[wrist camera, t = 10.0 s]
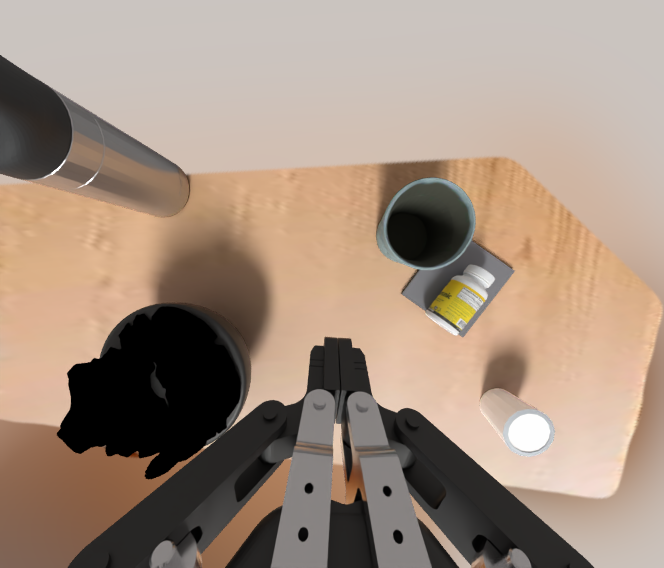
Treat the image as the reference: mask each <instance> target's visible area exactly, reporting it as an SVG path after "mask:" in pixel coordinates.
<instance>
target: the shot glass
mask: <svg viewBox="0 0 664 568" xmlns="http://www.w3.org/2000/svg"><path fill="white" fill-rule="evenodd" d="M479 406H480V410H481V412H482V414H483V415H484V416H485V418H486V419H487V420H488V422H489V423H490V424H491V425H492V427H493V428H494V429H495V431H496V432H497V433H498V435H499V436H500V437H501V439H502V440H503V441H504V442H505V444H506V445H507V446H508V447H509V449H510V450H511V451H513V452H514V453H516V454H518V455H520V456H528V457H531V456H535V455H539V454H541V453H542V452H544V451H545V450H547V449H548V448H549V446H550V445H551V443H552V442H553V440H554V433H555V430H554V426H553V422H552V421H551V420H550V418H549V417H548V416H547V415H546V414H545V413H543V412H541V411H540V410H538V409H536V408H535V407H533V406H531V405H530V404H528V403H526V402H525V401H523V400H521V399H520V398H518V397H516V396H515V395H513V394H511V393H510V392H508V391H506V390H504V389H500V388H494V389H490V390H488V391H487V392H485V393H484V394H483V396H482V397H481V399H480V405H479Z"/></svg>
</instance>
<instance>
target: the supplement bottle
mask: <svg viewBox="0 0 664 568" xmlns="http://www.w3.org/2000/svg"><path fill="white" fill-rule="evenodd" d="M494 280H495V278H494V276H493V275H492V274H490V273H489V272H488V271H486V270H485V269H483V268H481V267H479V266H476V265H468V267H467V268H466V269H465V270H464V272H463V275H462V276H454V277H453V278H452V279H451V280H450V281H449V283H448V284H447V285H446V286H445V288H444V289H443V290H442V292H441V293H440V294H439V295H438V297H437V298H436V299H435V300H434V302H433V303H432V304H431V305H430V307H429V308H428V309H427V311H426V312H425V314H426V316H428V317H429V318H430V319H431V320H433V321H434V322H435V323H437V324H438V325H440V326H441V327H442V328H444V329H445V330H447V331H448V332H450V333H451V334H453V335H458V334H459V333H460V331H461V330H462V329H463V328H464V327H465V325H466V324H467V323H468V322H469V320H470V319H471V318H472V317H473V315H474V314H475V313H476V312H477V310H478V309H479V308H480V307H481V305H482V304H483V303H484V302H485V300H486V299H487V297H488V294H487V292H486V290H485V289H486V288H489V286H491V284H492V283H493V282H494Z"/></svg>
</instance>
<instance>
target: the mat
mask: <svg viewBox="0 0 664 568" xmlns="http://www.w3.org/2000/svg"><path fill="white" fill-rule="evenodd" d="M468 265H476V266H479V267H481V268H483V269H485V270H486V271H488V272H489V273H490V274H492V275H493V276H494V278H495V280H494V282H493V283H492V284H491V286H489V288H486V289H485V290H486V292H487V294H488V297H487V299H486V300H485V302H484V303H483V304H482V305H481V307H480V308H479V309H478V310H477V312H476V313H475V314H474V315H473V317H472V318H471V319H470V320H469V322H468V323H467V324H466V325H465V327H464V328H463V329H462V330H461V331H460V333H459V335H460V336H462V337H464V336H465V334H466V333H467V332H468V330H469V329H470V328H471V327H472V325H473V324H474V323H475V322H476V320H477V319H478V318H479V316H480V315H481V314H482V313H483V311H484V310H485V309H486V307H487V306H488V305H489V304H490V302H491V301H492V300H493V298H494V297H495V296H496V295H497V293H498V292H499V291H500V289H501V288H502V287H503V286H504V284H505V283H506V282H507V280H508V279H509V278H510V277H511V275H512V274H513V273H514V270H513V269H511V268H510V267H508V266H507V265H506V264H504V263H503V262H501V261H500V260H498V259H497V258H496V257H494V256H493V255H491V254H490V253H489V252H487V251H486V250H484V249H483V248H482V247H480V246H479V245H477V244H476V243H474V242H473V241H472V240H471V242H470V243H469V245H468V246H467V248H466V250H465V251H464V253H463V254H462V255H461V256H460V257H459V258H458V259H456V260H455V261H454V262H452V263H451V264H449V265H447V266H444V267H442V268H439V269H434V270H418V272H417V273H416V274H415V276H414V277H413V278H412V280H411V281H410V283H409V284H408V285H407V287H406V288H405V289H404V291H403V292H402V293H401V294H402V295H404V296H405V297H406V298H408V299H409V300H411V301H412V302H413V303H415V304H416V305H418V306H419V307H420V308H422V309H423V310H425V311H427V309H428V308H429V307H430V305H431V304H432V303H433V302H434V300H435V299H436V298H437V297H438V295H439V294H440V293H441V292H442V290H443V289H444V288H445V286H446V285H447V284H448V283H449V281H450V280H451V279H452V278H453V277H454V276H462V275H463V272H464V270H465V269H466V268H467V267H468Z"/></svg>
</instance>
